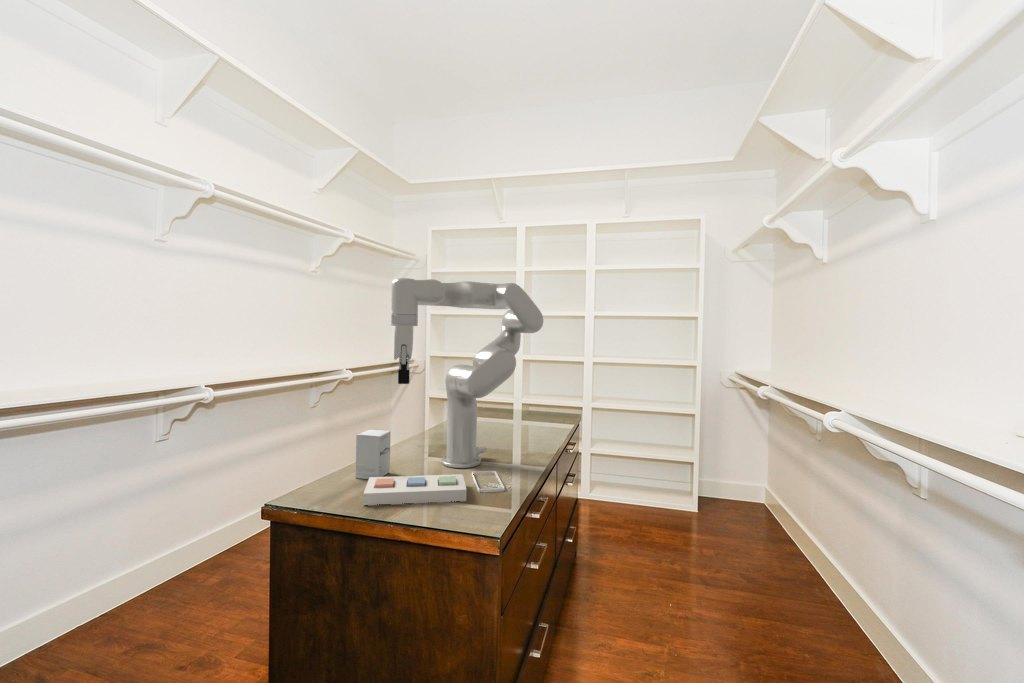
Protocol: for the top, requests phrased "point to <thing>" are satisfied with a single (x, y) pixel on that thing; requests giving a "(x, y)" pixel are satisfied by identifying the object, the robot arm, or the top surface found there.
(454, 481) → the button sage
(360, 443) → the supplement box
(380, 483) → the button terracotta
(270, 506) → the top surface
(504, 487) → the white rectangular frame
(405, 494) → the button panel
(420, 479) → the button slate
